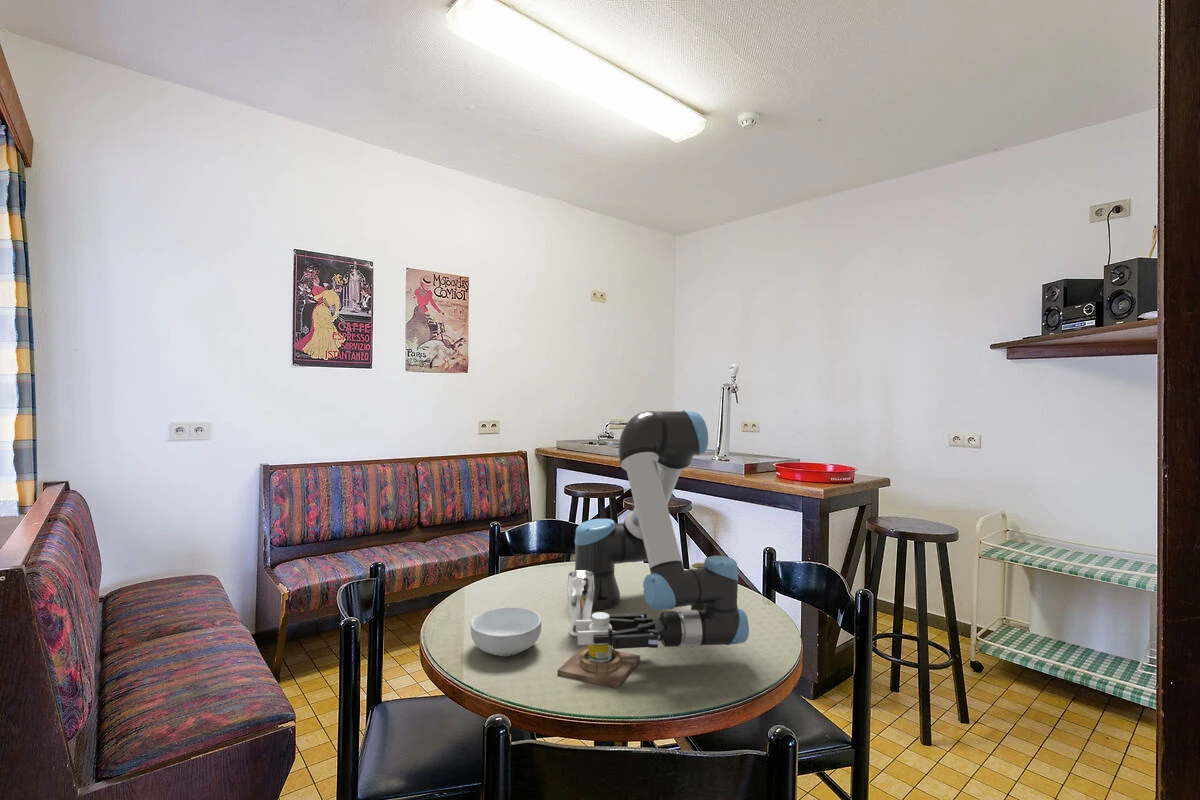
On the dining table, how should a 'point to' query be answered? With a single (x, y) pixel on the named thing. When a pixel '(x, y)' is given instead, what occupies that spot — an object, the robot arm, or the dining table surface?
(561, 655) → the dining table surface
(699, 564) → the character mug
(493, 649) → the cereal bowl
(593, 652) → the supplement bottle
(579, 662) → the collar stand
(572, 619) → the silver metal tumbler
